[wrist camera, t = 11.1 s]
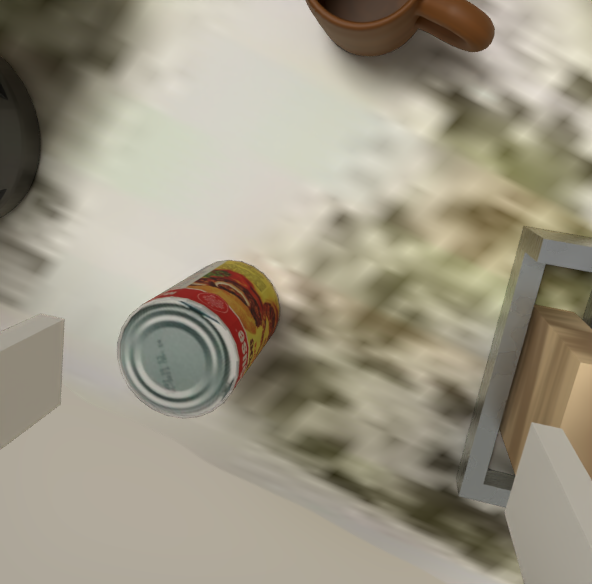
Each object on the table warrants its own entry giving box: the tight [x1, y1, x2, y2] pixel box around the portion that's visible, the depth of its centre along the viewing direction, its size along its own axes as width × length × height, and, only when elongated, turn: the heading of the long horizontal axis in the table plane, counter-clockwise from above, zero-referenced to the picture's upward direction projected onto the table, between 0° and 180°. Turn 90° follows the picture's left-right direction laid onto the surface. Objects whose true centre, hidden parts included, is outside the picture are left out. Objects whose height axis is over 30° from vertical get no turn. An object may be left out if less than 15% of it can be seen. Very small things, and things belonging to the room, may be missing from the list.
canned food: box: [117, 260, 280, 418], centre depth 40 cm, size 8×8×12 cm
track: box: [456, 226, 592, 507], centre depth 40 cm, size 7×21×6 cm, turn 171°
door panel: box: [499, 304, 592, 480], centre depth 37 cm, size 3×10×12 cm, turn 171°
